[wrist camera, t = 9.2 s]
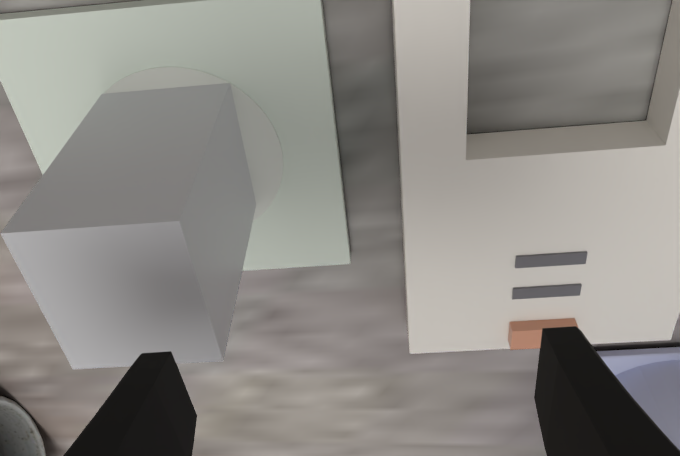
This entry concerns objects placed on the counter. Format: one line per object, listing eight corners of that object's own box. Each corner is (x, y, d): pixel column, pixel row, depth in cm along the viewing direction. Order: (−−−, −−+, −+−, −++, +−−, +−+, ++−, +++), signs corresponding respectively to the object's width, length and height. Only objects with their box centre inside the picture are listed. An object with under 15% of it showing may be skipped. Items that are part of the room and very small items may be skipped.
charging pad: (350, 253, 24) (350, 265, 23) (95, 270, 25) (89, 282, 24) (319, -18, 18) (318, -10, 17) (-17, 15, 19) (-28, 23, 18)
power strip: (654, 310, 26) (676, 350, 24) (406, 324, 26) (410, 363, 25) (812, -243, 15) (871, -241, 13) (382, -193, 15) (386, -186, 14)
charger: (256, 204, 22) (223, 361, 16) (143, 212, 22) (72, 368, 16) (230, 82, 19) (179, 220, 13) (101, 93, 19) (0, 233, 14)
